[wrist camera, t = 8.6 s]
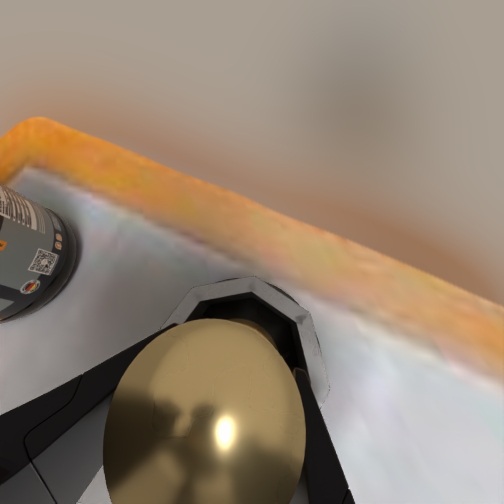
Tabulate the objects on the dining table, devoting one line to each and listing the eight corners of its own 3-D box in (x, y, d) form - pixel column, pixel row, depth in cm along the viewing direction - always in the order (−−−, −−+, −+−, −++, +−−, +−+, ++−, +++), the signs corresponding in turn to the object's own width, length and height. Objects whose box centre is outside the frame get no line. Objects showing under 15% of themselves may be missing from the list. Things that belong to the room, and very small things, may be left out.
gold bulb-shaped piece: (227, 430, 13) (157, 676, 4) (182, 352, 15) (57, 395, 6) (295, 371, 14) (367, 455, 5) (246, 303, 16) (232, 270, 7)
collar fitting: (166, 472, 14) (135, 523, 11) (159, 294, 18) (135, 286, 14) (340, 434, 15) (367, 469, 11) (296, 268, 19) (306, 254, 15)
